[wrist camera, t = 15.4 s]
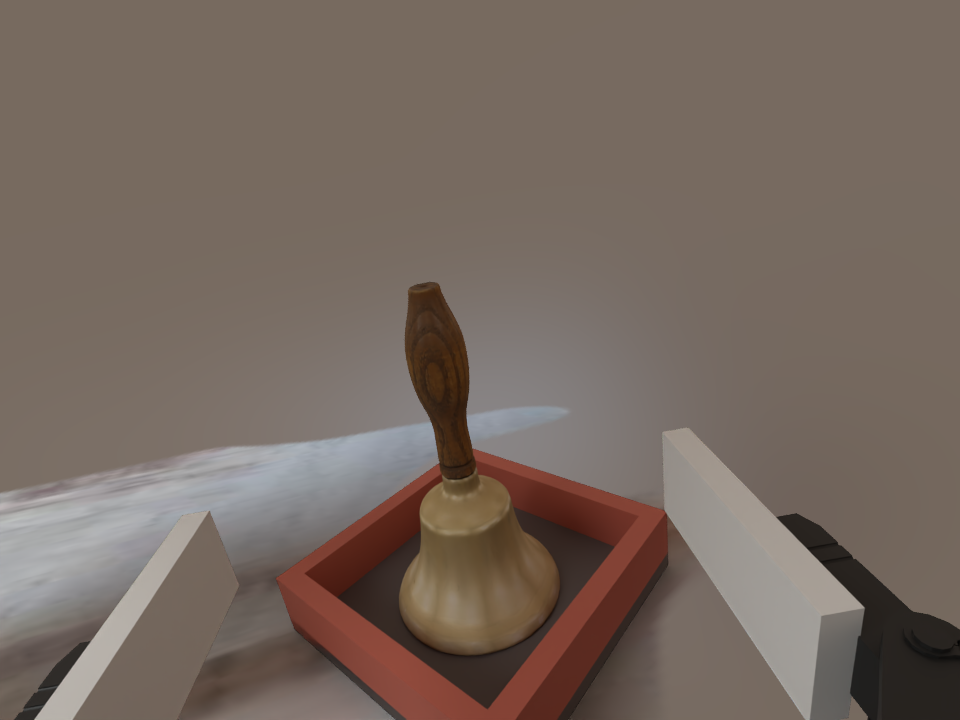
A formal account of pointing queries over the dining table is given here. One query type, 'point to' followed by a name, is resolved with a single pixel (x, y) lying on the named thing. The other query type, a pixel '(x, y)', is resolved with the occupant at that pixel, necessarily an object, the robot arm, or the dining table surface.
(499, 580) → the hand bell
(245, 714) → the dining table surface
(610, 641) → the tray
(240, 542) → the dining table surface
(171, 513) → the dining table surface
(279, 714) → the dining table surface
